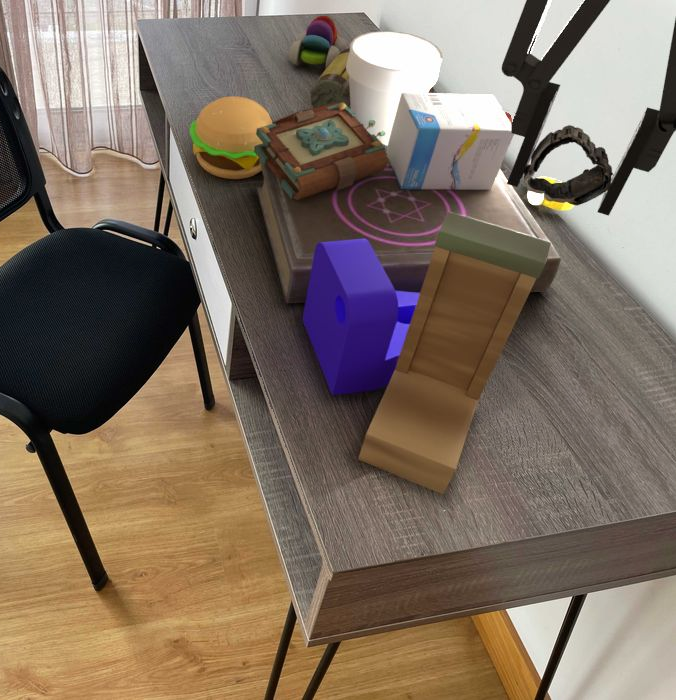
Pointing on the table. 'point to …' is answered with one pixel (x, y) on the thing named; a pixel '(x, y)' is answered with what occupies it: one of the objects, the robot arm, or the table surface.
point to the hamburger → (229, 137)
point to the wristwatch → (577, 187)
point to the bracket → (355, 316)
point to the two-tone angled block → (452, 348)
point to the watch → (539, 199)
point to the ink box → (448, 141)
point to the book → (384, 225)
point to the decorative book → (320, 151)
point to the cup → (388, 75)
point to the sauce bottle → (333, 83)
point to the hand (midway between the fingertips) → (560, 189)
